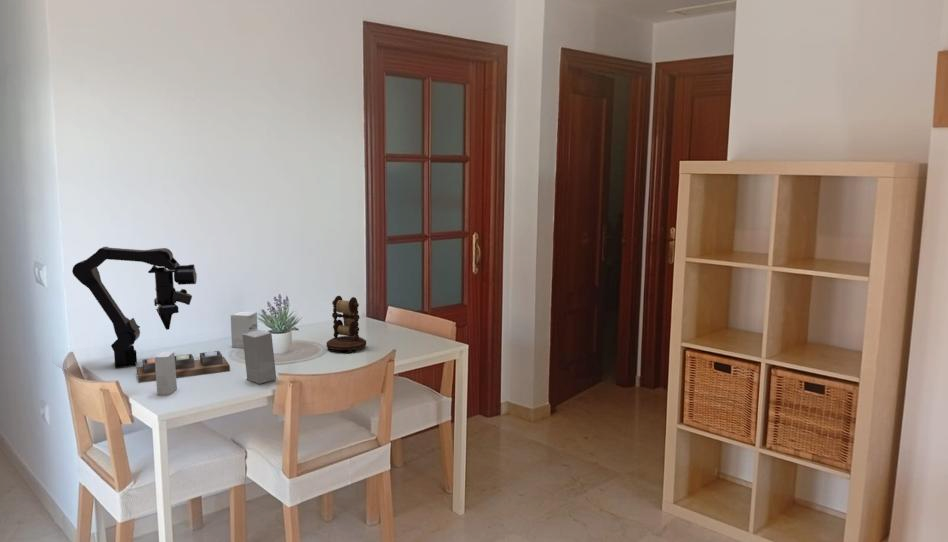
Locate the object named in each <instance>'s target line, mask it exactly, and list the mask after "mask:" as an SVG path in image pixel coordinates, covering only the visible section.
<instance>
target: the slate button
mask: <svg viewBox="0 0 948 542" xmlns="http://www.w3.org/2000/svg"><path fill="white" fill-rule="evenodd" d="M204 353H205V352H204ZM216 355H217V352H213V351H206V353H205V357H208V356H216Z"/></svg>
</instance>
